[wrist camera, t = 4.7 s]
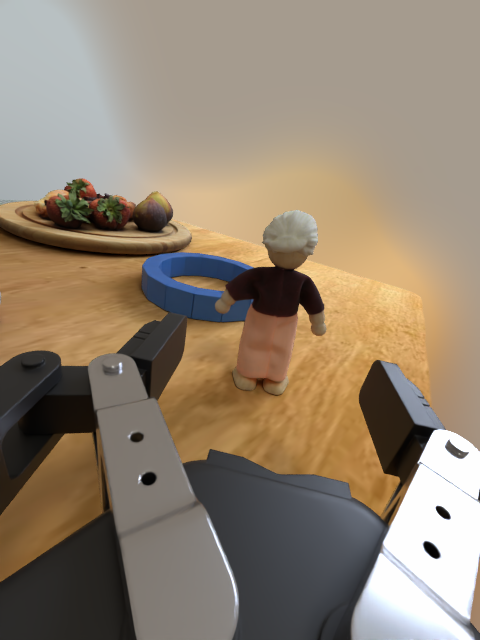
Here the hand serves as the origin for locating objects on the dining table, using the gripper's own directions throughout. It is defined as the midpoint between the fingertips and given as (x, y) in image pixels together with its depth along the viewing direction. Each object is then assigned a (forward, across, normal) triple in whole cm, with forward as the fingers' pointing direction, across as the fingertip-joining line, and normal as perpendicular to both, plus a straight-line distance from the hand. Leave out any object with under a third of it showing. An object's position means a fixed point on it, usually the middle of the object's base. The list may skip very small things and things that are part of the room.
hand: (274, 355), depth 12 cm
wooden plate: (+42, +32, +8) cm, 53 cm away
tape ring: (+23, +8, +7) cm, 26 cm away
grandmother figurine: (+8, 0, +8) cm, 11 cm away
